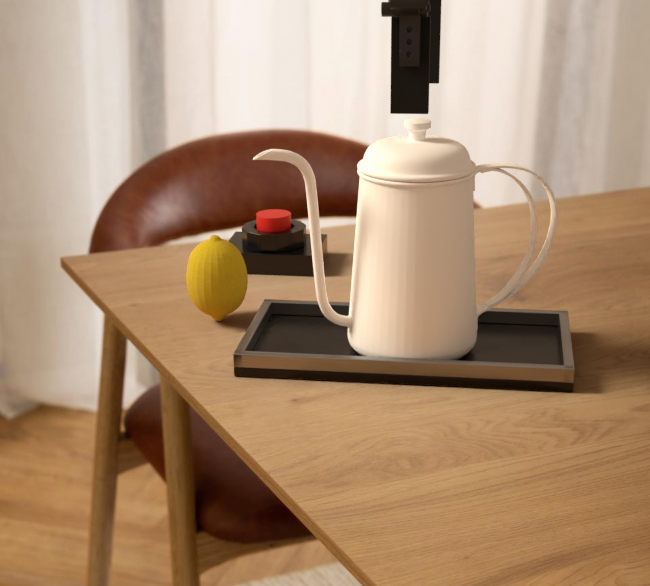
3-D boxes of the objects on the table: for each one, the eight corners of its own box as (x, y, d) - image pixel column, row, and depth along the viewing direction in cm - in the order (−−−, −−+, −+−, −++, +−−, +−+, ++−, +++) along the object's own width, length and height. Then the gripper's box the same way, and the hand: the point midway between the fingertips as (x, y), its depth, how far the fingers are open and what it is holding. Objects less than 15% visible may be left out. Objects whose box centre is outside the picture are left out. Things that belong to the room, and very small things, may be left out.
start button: (294, 226, 124) (293, 209, 123) (288, 235, 121) (287, 218, 120) (260, 224, 124) (259, 208, 124) (253, 234, 121) (253, 217, 120)
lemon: (244, 308, 112) (240, 225, 108) (253, 328, 107) (250, 241, 103) (185, 313, 111) (180, 229, 107) (192, 333, 106) (186, 246, 102)
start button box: (327, 254, 127) (327, 217, 125) (316, 277, 120) (316, 238, 118) (236, 251, 128) (234, 214, 127) (220, 273, 121) (218, 235, 120)
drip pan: (566, 331, 106) (567, 310, 105) (572, 392, 93) (574, 369, 92) (265, 319, 109) (264, 298, 108) (234, 376, 97) (232, 353, 96)
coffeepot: (250, 337, 103) (241, 114, 94) (523, 314, 107) (539, 99, 98) (271, 384, 93) (262, 141, 84) (569, 358, 98) (591, 124, 89)
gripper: (385, -212, 93) (383, 71, 103) (345, -236, 71) (348, 127, 81) (481, -215, 92) (470, 72, 102) (471, -240, 70) (458, 128, 80)
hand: (416, 97), depth 91 cm, fingers open, 13 cm apart
